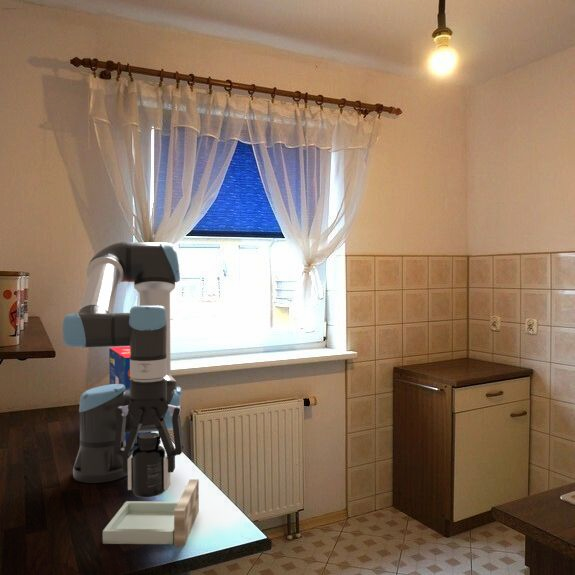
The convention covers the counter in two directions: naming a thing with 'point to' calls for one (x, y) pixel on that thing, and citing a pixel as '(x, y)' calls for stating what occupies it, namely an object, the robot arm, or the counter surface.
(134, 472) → the supplement bottle
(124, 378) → the pasta box
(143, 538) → the sliding tray
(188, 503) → the backstop wall
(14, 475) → the counter surface
